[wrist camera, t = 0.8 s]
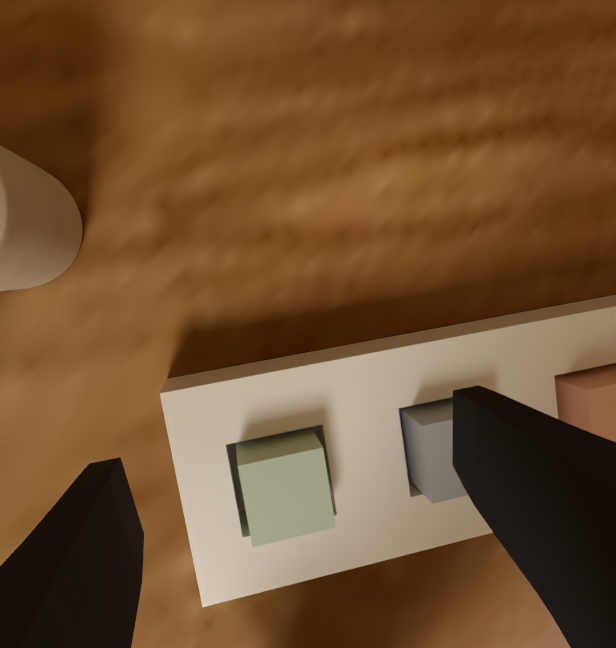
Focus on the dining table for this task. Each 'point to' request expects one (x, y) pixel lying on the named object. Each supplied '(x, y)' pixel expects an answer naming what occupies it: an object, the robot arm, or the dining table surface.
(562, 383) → the terracotta button
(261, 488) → the sage button
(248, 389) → the button panel
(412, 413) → the slate button
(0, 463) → the dining table surface
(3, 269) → the candle
